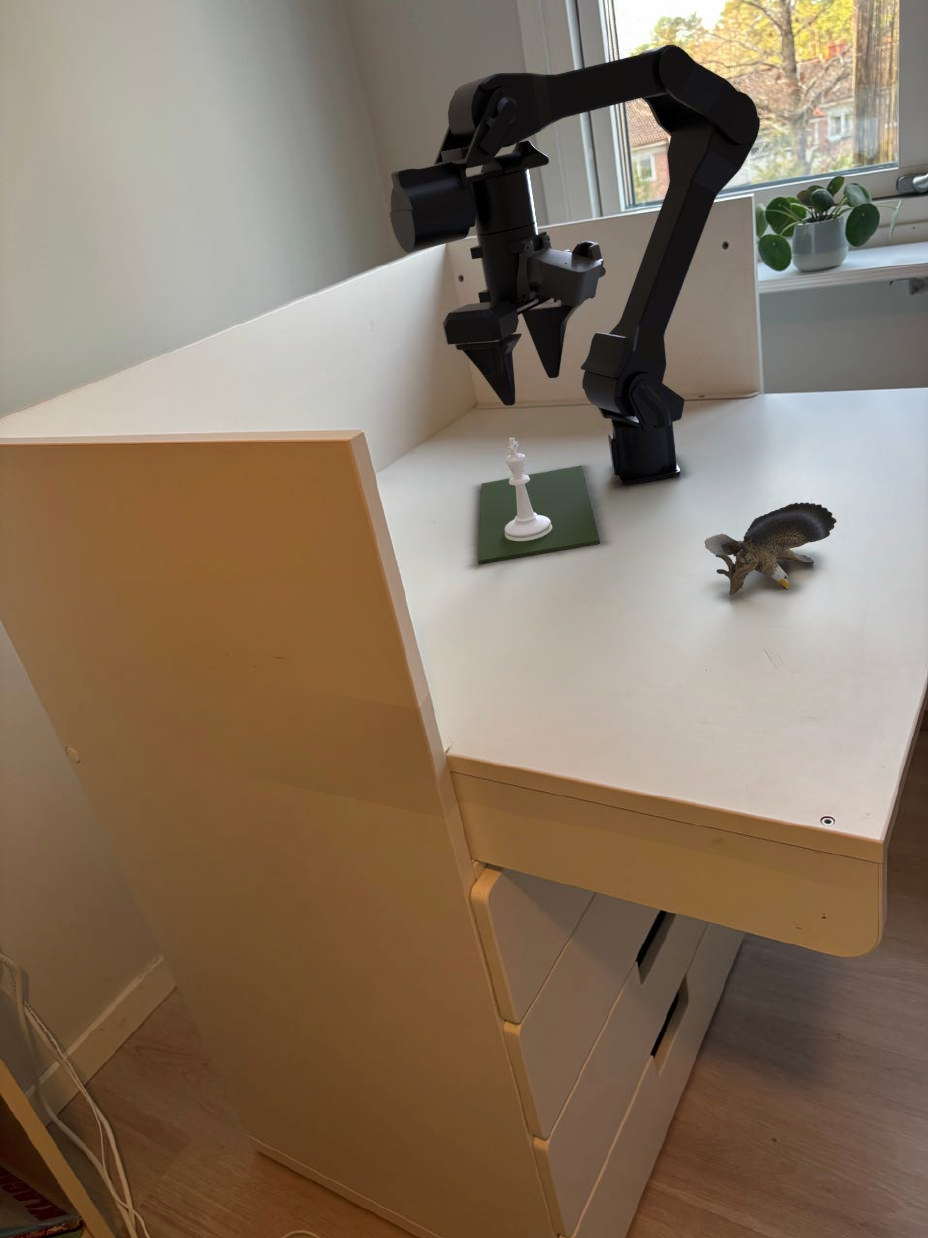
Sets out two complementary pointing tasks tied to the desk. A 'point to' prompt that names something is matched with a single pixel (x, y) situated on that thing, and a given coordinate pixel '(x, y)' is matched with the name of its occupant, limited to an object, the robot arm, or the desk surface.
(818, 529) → the eagle figurine
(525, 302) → the robot arm
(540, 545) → the green board
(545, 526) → the chess piece
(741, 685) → the desk surface
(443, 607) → the desk surface
